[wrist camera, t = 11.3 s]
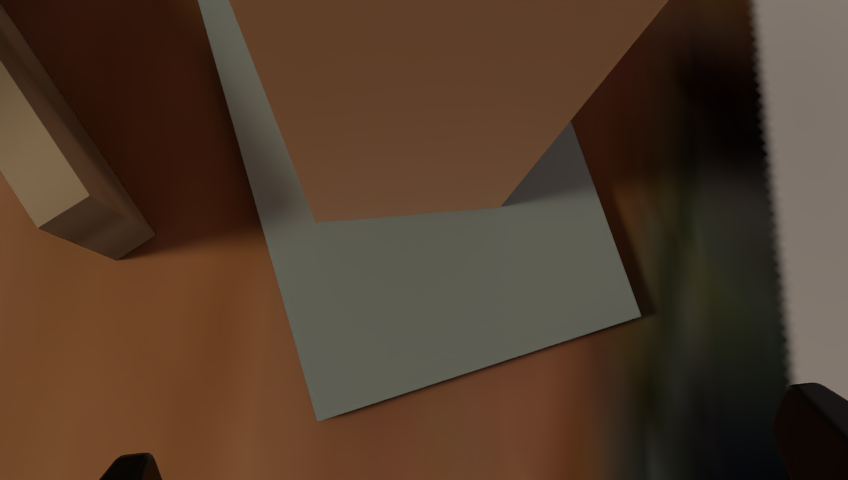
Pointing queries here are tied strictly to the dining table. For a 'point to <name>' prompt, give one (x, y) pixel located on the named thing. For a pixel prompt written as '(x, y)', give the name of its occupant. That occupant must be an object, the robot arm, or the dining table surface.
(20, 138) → the beige u-shaped block
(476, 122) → the tan block
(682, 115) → the dining table surface
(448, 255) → the slate mat
